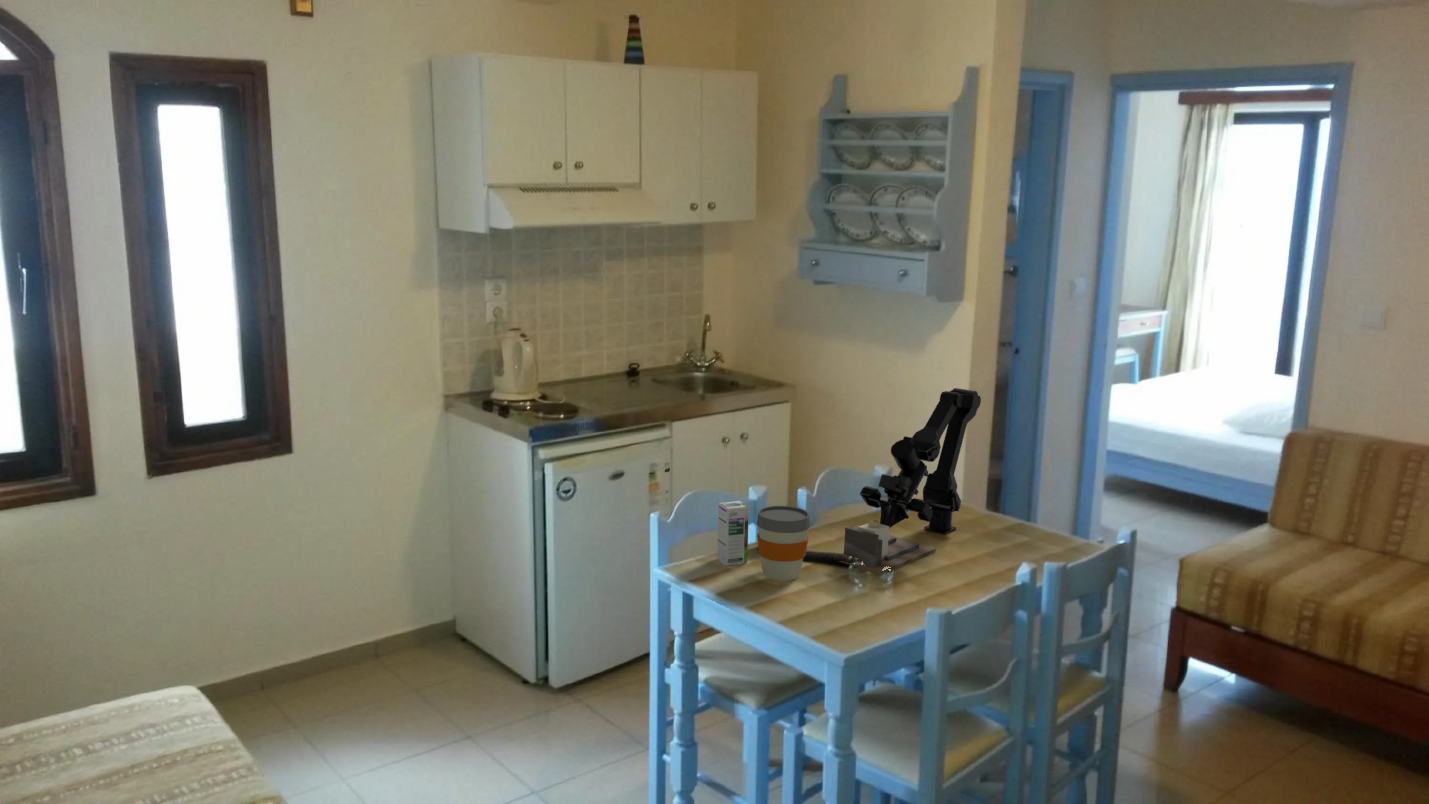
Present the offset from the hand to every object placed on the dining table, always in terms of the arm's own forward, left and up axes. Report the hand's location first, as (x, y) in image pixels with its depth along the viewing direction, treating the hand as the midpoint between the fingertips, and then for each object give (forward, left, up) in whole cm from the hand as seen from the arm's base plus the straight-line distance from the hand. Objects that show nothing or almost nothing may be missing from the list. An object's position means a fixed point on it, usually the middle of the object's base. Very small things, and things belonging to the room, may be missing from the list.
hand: (880, 531), depth 269 cm
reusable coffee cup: (+26, -10, -7) cm, 29 cm away
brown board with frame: (-3, 0, -7) cm, 8 cm away
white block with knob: (+3, 0, -6) cm, 7 cm away
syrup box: (+28, -24, -7) cm, 38 cm away
